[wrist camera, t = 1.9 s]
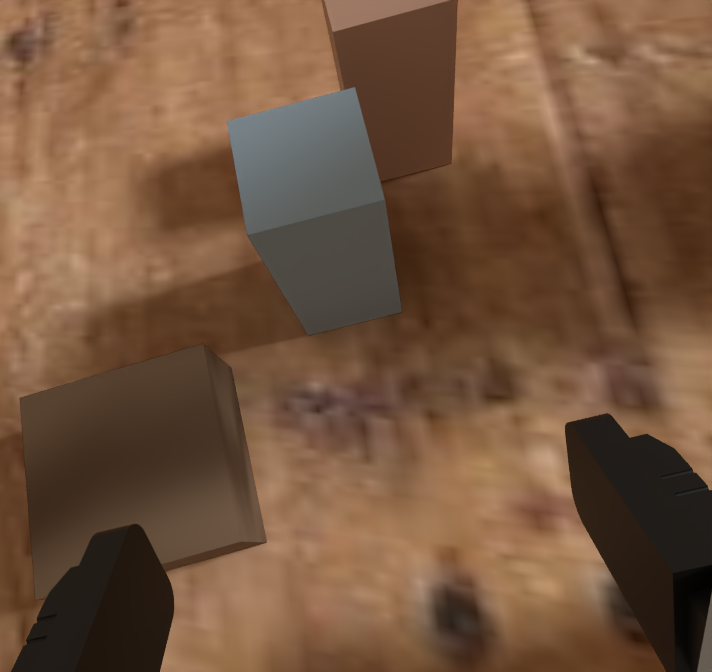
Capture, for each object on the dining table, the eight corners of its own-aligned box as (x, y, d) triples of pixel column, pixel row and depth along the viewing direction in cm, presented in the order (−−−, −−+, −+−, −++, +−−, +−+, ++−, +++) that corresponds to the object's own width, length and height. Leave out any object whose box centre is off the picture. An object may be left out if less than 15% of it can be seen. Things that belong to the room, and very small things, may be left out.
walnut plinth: (72, 416, 30) (19, 398, 26) (233, 369, 30) (203, 343, 26) (91, 593, 27) (35, 600, 23) (268, 542, 27) (240, 541, 23)
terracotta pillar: (345, 114, 33) (309, -59, 24) (429, 92, 33) (425, -91, 23) (363, 186, 31) (332, 31, 22) (451, 163, 31) (457, -2, 22)
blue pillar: (291, 251, 31) (226, 121, 21) (380, 228, 31) (354, 87, 21) (308, 335, 29) (247, 235, 20) (402, 312, 29) (385, 199, 20)
